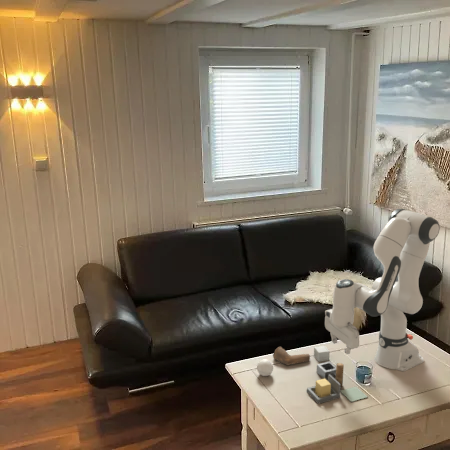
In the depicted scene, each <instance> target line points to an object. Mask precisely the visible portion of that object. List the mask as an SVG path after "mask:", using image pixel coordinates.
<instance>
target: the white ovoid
mask: <svg viewBox="0 0 450 450" xmlns="http://www.w3.org/2000/svg"><path fill="white" fill-rule="evenodd" d="M252 371H253V372H254V371H255V369H254V370H252ZM256 371H257V372H258V374H259V375H260V376H263V377H268V376H271V374H272V373H273V371H274V365H273V363H272V361H271V360H270V359H267V358H264V359H261V360H260V361H258V362H257V364H256Z"/></svg>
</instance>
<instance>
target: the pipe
mask: <svg viewBox="0 0 450 450" xmlns="http://www.w3.org/2000/svg"><path fill="white" fill-rule="evenodd" d="M310 356H311V355H310V354H309V353H303V354H302V353H301V354H293V355H290V354H289V353H288V352H287V351H286V350H285V348H283V347H282V346H278V347H277V348H276V349H274V352H273V353H272V358H273V359H274V360H276V361H277V362H279V363H281V364H283V365H286V366H291V365H297V364H300V363H307V362H310V360H311V357H310Z"/></svg>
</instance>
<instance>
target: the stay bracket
mask: <svg viewBox="0 0 450 450" xmlns="http://www.w3.org/2000/svg"><path fill="white" fill-rule="evenodd" d="M316 373H317V375H319V376H320V377H321V379H324V378H325V379H326V380H327V381H328V375H329V374H330V375H331V376H332V377H333V378H335V379H336V365H335V364H334V363H333V362H332V361H330V360H328V361H324V362H322V363H321V362H320V363H317V364H316Z"/></svg>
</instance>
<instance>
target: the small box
mask: <svg viewBox="0 0 450 450" xmlns="http://www.w3.org/2000/svg"><path fill="white" fill-rule="evenodd" d="M313 357H314V358H315V359H316V361H317V362H318V363H319V362H320V363H321V362H328V361H330V350H329V349H328V348H327V346H326V345H320V346H314V347H313Z"/></svg>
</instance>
